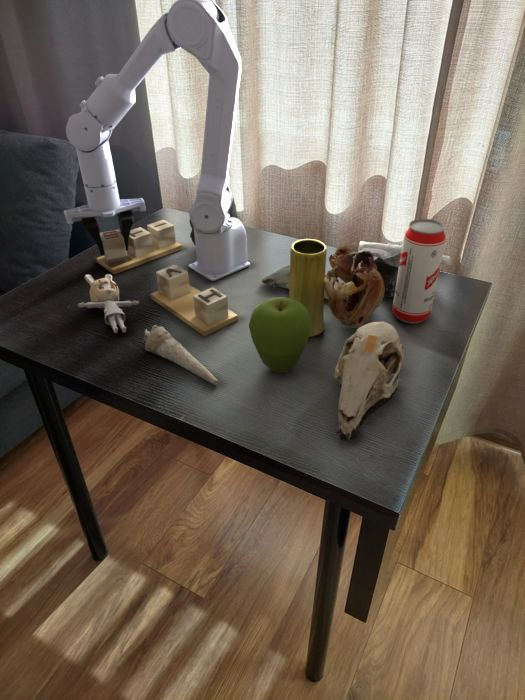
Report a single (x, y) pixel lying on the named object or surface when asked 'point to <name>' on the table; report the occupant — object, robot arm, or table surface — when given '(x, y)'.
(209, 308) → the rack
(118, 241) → the s tile
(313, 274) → the vase
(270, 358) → the apple
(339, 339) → the table surface
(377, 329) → the animal skull replica
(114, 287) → the toy
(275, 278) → the fossil
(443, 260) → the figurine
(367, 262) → the dried fish head
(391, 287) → the rock
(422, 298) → the beer can
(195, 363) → the seashell
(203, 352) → the table surface
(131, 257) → the board
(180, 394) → the table surface
